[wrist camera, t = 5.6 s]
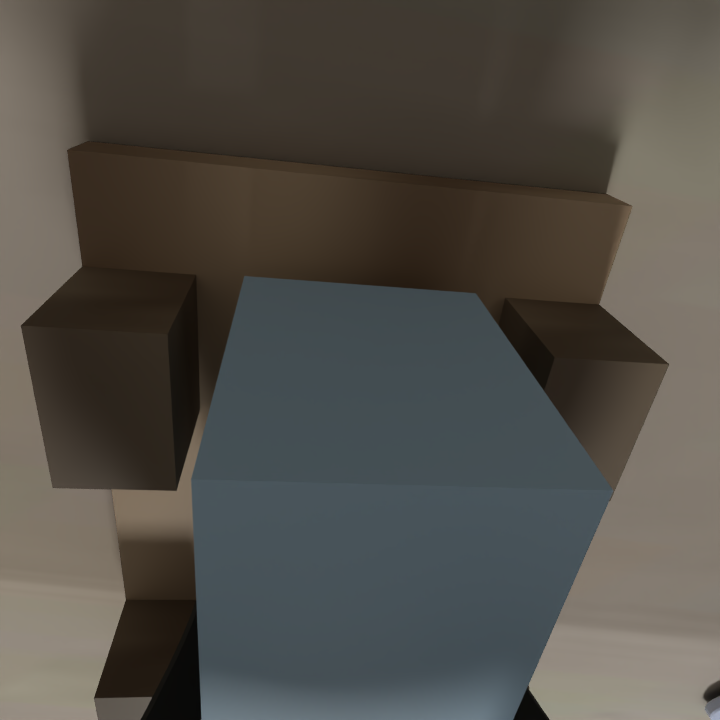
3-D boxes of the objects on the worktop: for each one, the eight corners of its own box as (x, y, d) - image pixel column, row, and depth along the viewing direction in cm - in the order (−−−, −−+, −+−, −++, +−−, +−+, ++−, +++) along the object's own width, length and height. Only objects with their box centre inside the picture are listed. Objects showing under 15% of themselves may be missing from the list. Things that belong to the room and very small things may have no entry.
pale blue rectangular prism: (476, 293, 10) (613, 491, 5) (375, 730, 16) (401, 975, 12) (244, 275, 9) (190, 479, 5) (238, 735, 16) (213, 992, 12)
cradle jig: (607, 193, 11) (720, 247, 8) (455, 672, 19) (484, 792, 16) (88, 141, 10) (-8, 180, 7) (148, 678, 18) (116, 810, 14)
